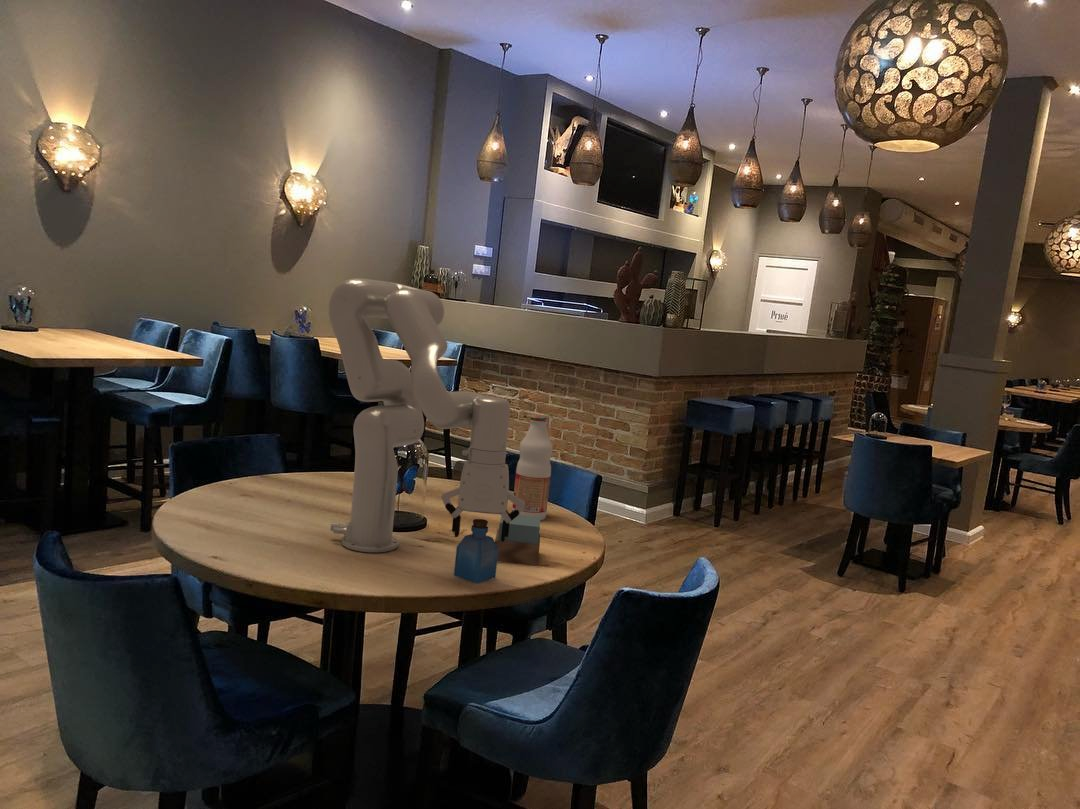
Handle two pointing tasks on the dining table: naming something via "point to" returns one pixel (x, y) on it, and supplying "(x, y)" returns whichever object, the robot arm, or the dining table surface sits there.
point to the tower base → (517, 552)
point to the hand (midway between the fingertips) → (479, 537)
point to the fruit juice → (534, 469)
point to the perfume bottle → (476, 554)
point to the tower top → (522, 529)
